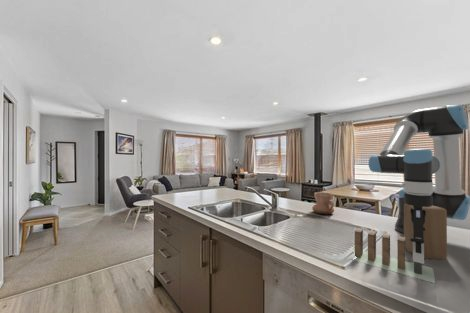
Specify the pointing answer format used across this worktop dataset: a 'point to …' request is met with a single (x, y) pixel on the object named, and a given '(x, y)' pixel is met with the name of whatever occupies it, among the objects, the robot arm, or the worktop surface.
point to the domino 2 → (386, 249)
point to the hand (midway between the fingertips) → (418, 254)
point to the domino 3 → (401, 252)
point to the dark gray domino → (418, 268)
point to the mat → (393, 266)
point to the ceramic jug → (323, 203)
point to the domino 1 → (371, 246)
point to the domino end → (358, 242)
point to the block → (428, 231)
